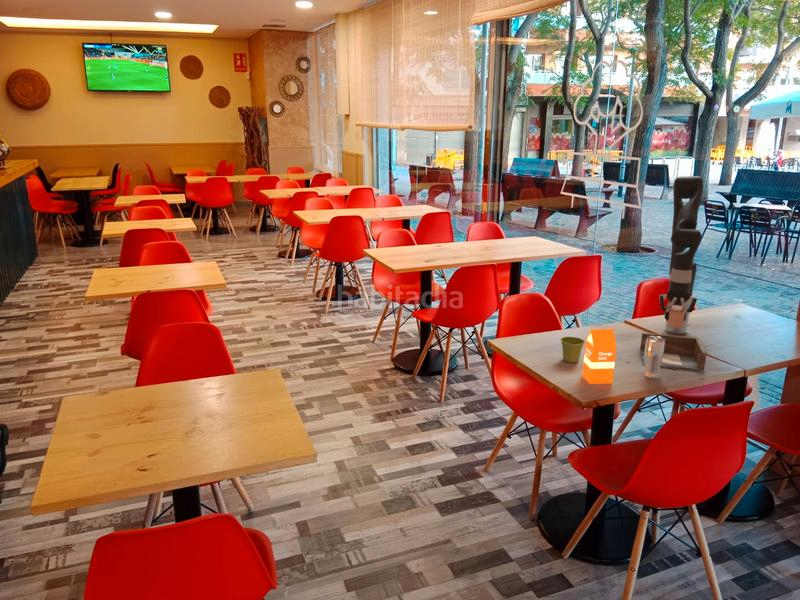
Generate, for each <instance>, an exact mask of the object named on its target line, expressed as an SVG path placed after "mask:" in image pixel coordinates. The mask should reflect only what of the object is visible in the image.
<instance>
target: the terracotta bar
mask: <svg viewBox="0 0 800 600" xmlns="http://www.w3.org/2000/svg"><path fill="white" fill-rule="evenodd" d="M684 315H685V313H684V310H683V309H682V306H674V305H673V306H672V308H671V309H670V311H669V319H668V321H667V323H668V325H669V327H679V328H683V322H684Z"/></svg>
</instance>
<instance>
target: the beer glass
mask: <svg viewBox="0 0 800 600" xmlns="http://www.w3.org/2000/svg"><path fill="white" fill-rule="evenodd" d="M664 351H665V339H664V338H662V337H658V336H648V337H647V340H646V344H645V366H644V367H643V368H644V369H643V371H642V376H643V377H645V378H647V379H651V378H652V379H651V380H655V379H660V376H661V373H660V372H661V371H660V370H661V367H660V365H661V362H662V359H663V356H664Z"/></svg>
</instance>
